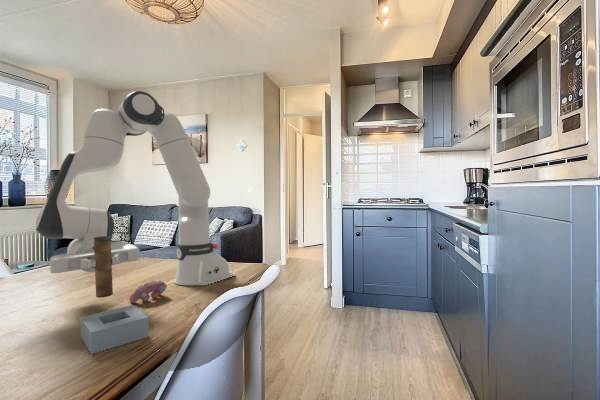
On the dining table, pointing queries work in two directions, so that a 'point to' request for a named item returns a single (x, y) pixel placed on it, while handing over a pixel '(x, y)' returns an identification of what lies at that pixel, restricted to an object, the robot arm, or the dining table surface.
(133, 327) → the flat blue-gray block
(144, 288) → the video game controller
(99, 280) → the walnut dowel
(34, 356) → the dining table surface
